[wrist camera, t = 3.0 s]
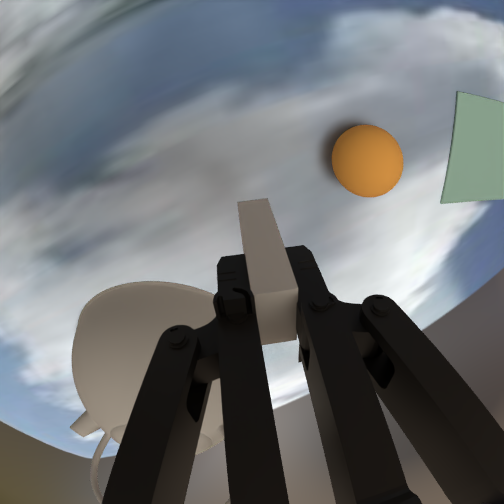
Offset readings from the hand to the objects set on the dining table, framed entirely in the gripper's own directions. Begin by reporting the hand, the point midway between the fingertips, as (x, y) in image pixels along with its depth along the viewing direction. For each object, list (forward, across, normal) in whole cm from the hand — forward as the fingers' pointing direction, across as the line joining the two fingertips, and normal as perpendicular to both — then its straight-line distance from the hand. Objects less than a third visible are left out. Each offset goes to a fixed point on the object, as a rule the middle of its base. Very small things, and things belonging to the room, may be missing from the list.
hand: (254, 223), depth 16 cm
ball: (+6, +9, 0) cm, 11 cm away
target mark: (+9, +26, 0) cm, 28 cm away
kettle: (+10, -13, -22) cm, 27 cm away
